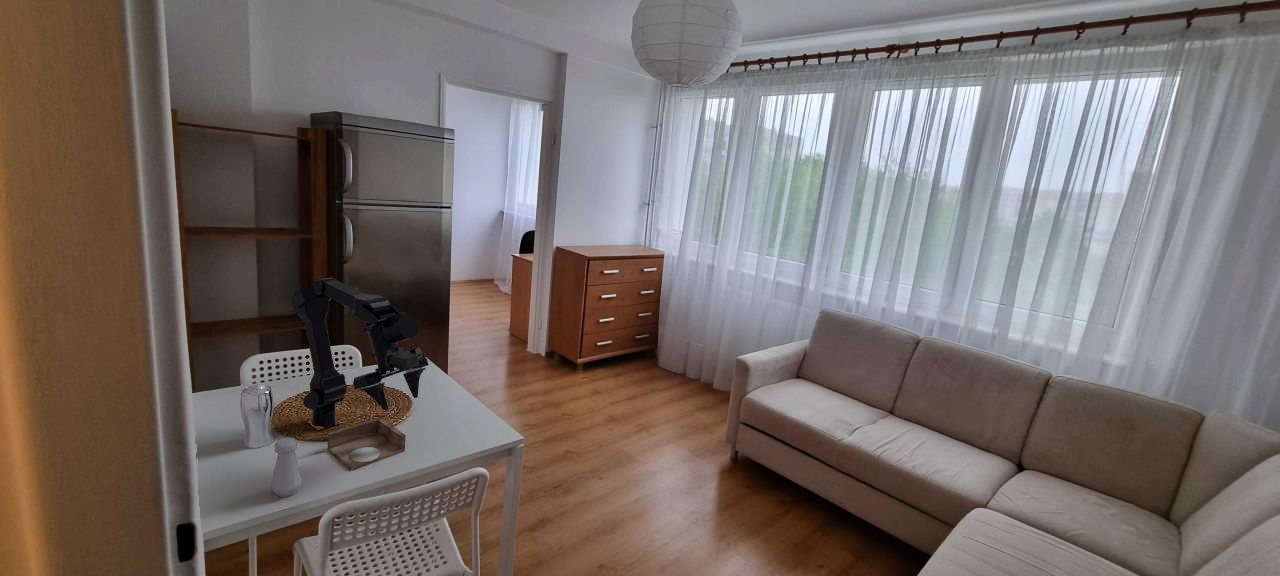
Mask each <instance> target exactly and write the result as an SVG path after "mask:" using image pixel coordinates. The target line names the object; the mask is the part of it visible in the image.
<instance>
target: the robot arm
mask: <svg viewBox="0 0 1280 576" xmlns="http://www.w3.org/2000/svg"><path fill="white" fill-rule="evenodd" d="M290 298H291V300H290V301H291V304H292V307H293V310H294V313H295V314H296V316H297V317H298V318H299V319H301V320H302V321H303V323H304V329H305V332H306V338H307V343H308V347H309V352H310V353H309V354H310V358H311V362H312V369H313V374H312V378H311V380H310V382H309V393H307V394H306V395H305V396H304V397H303V398H302V402H303V406H304V407H305V408H307V409H309V410H311V419H312V424H313V425H315V426H322V427H328V426H331V425H335V418H336V408H337V407H336V404H338V403H340V402H343V401H344V399H345V395H346V393H347V388H348V384H347V383H346V376H345V375H344V373H340V372H339V371H337V370H336V368H335V363H334V358H333V353H332V349H331V342H330V337H329V332H328V328H327V323H326V322H327V321H326V317H327V314H328V313H329V310H330V301H331V300H334V301H335V302H338V303H339V304H342V306H343V305H344V306H345V307H347V308H349V309H351V310H352V313H353V315H354V316H355V317H356V319H358V320H360V321H361V322H363V323H365V325H364V327H363V328H362V330H361V332H362V334H364V333H367V335H368V337H369V341H370V344H371V347H372V348H371V349H372V350H373V351H372V353H370V356H371V358H374V357H375V358H374V359H375V361H376V365H377V368H374V369H375V371H373V372H368V373H365V374H361V375H359V376H355V377H354V378H353V380H352V384H353V388H354V390H358V389H359V391H360V392H362V391H363V392H365V393H367V395H369V396H370V397H371V398H372V399H373V400H374V402H375V403H377V404H378V406H379V407H380V408H381V409H382V410H383V411H388V410H389V405H388V401H387V398H386V393H385V390H384V388H385V382H382V381H383V379H385V378H387V377H392V376H394V375H397V374H400V373H402V372H404V373H403V377H404V380H405V382H406V385H407V387H408V389H409V392H410V394H411V396H412V397H413V399H417V398H418V397H419V387H420V380H421V379H420V378H421V376H422V373H423V372H424V371H425V370H426V367H427V366H429V365H430V364H429V361H428V358H426V356H424V355H423V352H422V349H421V347H418V346H415V347H411V348H410V350H407V351H406V350H404V348H403V346H402V344H400V345H398V343H399V342H403V341H406V340H410V339H414V338H415V337H416V336H417V335H418V331H419V326H418V323H417V322H416V320H415V319H414V318H413V317H411V316H409V315H408V313H407V311H403V312H400V311H399V310H398V309H397V308H396V307H395V306H394V305H393V304H392V303H391V302H390V300H389V298H387V297H386V296H382V295H378V294H369V293H364V292H361V291H359V290H357V289H355V288H353V287H351V286H350V285H346V284H345V283H343V282H341V281H339V280H338V279H337V278H336V277H335V278H334V277H328V278H327V277H326V278H319V279H316V280H315V281H314V282H313V283H311V284H309V285H307V286H305V287H303V288H300V289H299V290H295V291H294V292H293V295H292V296H291V297H290ZM311 419H308V420H309V421H310V420H311ZM335 426H336V425H335ZM328 428H329V427H328Z"/></svg>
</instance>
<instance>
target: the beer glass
mask: <svg viewBox="0 0 1280 576" xmlns="http://www.w3.org/2000/svg"><path fill="white" fill-rule="evenodd" d="M274 402H275V401H274V391H273V386H272V385H270V384H266V383H260V384H259V383H257V384H252V385H248V386H245V387H244V388H241V389H240V399H239V404H240V405H239V408H240V415H241V418H242V423H243V426H244V433H245V435H244V440H243V445H244V447H246V448H248V449H259V448H263V447H265V446H268V445H270V444H272V442H273V436H272V433H271V432H272V431H271V423H272V419H273V415H274V414H273V413H274V408H275V405H274V404H275V403H274Z"/></svg>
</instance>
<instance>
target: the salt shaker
mask: <svg viewBox="0 0 1280 576" xmlns="http://www.w3.org/2000/svg"><path fill="white" fill-rule="evenodd" d="M298 444H299V443H298V441H297V439H296V438H294V437H282V438H280V439H279V440H277V441H276V442H275V443H274V445H273V446H274V451H275V453H276V454H277V457H276V461H275V465H274V466H275V467H274V471H273V474H272V479H271V483H270V487H271V490H272V492H273V493H274V494H275V496H277V497H280V498H285V497H289V496H290V497H291V496H293V495H295V494H296V493H297V491H298V490H299V488H300V486H301V484H302V479H303V478H302V476H301V471H300V468H299V464H298V459H297V456H296V450H297V449H298Z"/></svg>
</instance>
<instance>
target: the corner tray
mask: <svg viewBox="0 0 1280 576" xmlns="http://www.w3.org/2000/svg"><path fill="white" fill-rule="evenodd" d="M327 450H328V451H329V453H331V454H332V455H333V456H335V457H336V458H337V459H338V460H339V461H340V462H341V463H342V464H343V465H344V466H346V467H347V468H348V469H349V470H350V471H354V470H357V469H359V468H362V467H365V466H368V465H371V464H374V463H377V462H379V461H381V460H384V459H387V458H389V457H392V456H396V455H398V453H399V454H401V453H404V452H405V451H406V434H405V433H403V432H402V431H400V430H399V429H398V428H397V427H395V426H394V425H392V424H391V423H389V422H388V421H387V420H385V419H384V418H383V417H377V418H374V419H373V418H372V419H371V420H367V421H363V422H360V423H356V424H354V425H350V426H347V427H344V428H339V429H337V430H333V431H331V432H327Z"/></svg>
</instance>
